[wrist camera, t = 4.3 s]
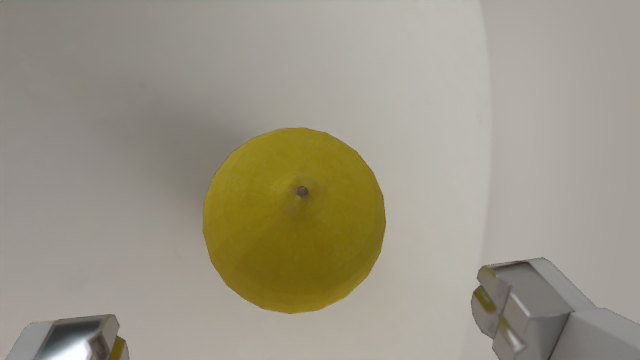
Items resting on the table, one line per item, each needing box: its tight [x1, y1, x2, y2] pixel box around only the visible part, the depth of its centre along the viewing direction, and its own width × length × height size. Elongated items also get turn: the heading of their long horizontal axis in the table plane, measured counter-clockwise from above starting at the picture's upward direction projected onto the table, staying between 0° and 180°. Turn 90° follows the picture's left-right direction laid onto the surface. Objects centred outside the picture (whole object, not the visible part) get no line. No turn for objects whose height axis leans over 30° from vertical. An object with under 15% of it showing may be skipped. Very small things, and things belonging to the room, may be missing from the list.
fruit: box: [203, 128, 386, 314], centre depth 12 cm, size 6×6×8 cm
